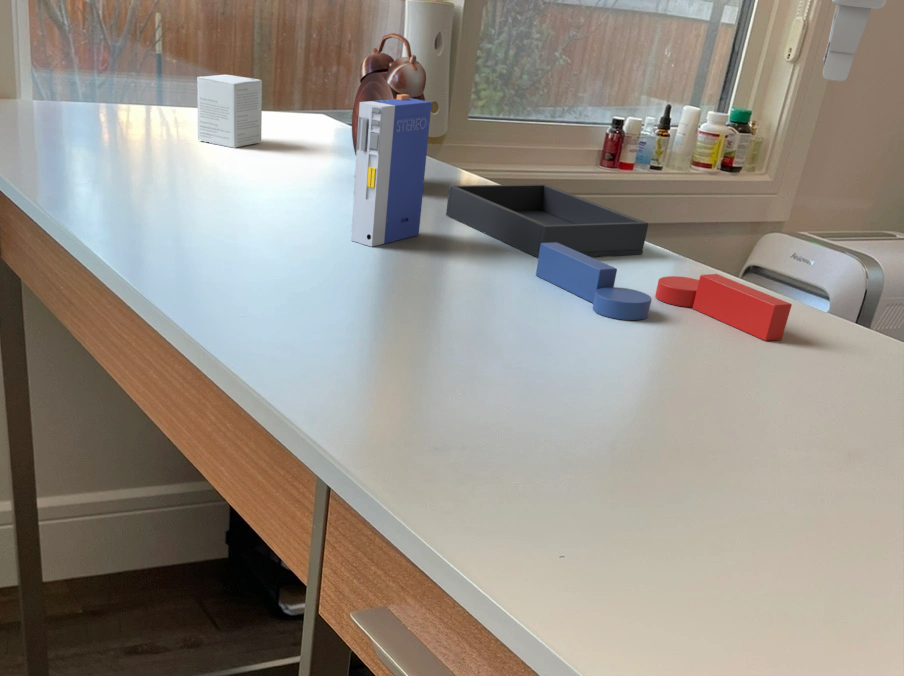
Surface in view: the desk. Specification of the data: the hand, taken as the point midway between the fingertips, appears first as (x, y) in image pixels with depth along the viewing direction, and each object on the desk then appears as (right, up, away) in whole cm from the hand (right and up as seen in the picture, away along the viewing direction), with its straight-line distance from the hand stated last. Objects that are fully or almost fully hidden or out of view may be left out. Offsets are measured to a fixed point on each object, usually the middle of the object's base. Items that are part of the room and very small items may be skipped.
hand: (832, 75), depth 85 cm
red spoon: (-6, -15, +9) cm, 19 cm away
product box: (-53, +26, +60) cm, 84 cm away
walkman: (-34, -3, +23) cm, 41 cm away
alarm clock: (-34, +13, +45) cm, 58 cm away
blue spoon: (-16, -13, +11) cm, 24 cm away
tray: (-18, +1, +30) cm, 34 cm away
